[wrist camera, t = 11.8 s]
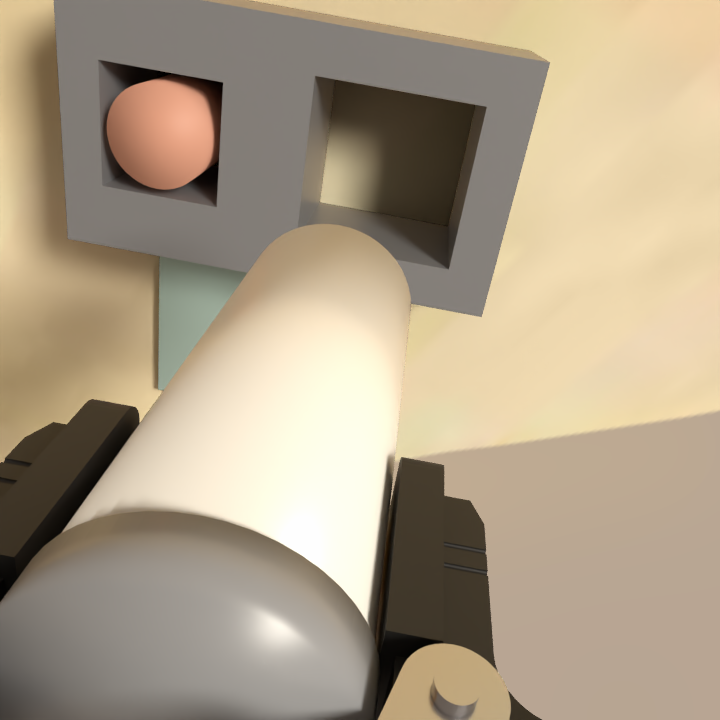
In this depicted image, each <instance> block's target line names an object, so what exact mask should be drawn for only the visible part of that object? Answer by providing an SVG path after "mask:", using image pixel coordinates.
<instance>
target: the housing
mask: <svg viewBox="0 0 720 720" xmlns="http://www.w3.org/2000/svg"><path fill="white" fill-rule="evenodd" d="M54 13H55V30H56V47H57V64H58V80H59V97H60V114H61V131H62V148H63V165H64V182H65V199H66V215H67V232H68V239H71V240H76V241H82V242H87V243H92V244H98V245H103V246H108V247H113V248H119V249H124V250H129V251H135V252H140V253H145V254H151V255H156V256H161V257H166V258H172V259H177V260H182V261H188V262H193V263H198V264H204V265H209V266H214V267H220V268H225V269H230V270H235V271H241V272H246V273H248V272H249V270H250V269H251V267H252V266H253V265H254V263H255V262H256V260H257V259H258V258H259V256H260V255H261V253H262V252H263V251H264V250H265V249H266V248H267V247H268V246H269V245H270V244H271V243H272V242H273V241H274V240H275V239H277V238H278V237H280V236H282V235H283V234H285V233H287V232H289V231H291V230H293V229H296V228H299V227H303V226H307V225H313V224H334V225H341V226H345V227H349V228H352V229H355V230H357V231H360V232H362V233H364V234H366V235H368V236H370V237H371V238H373V239H374V240H376V241H377V242H379V243H380V244H381V245H382V246H383V247H384V248H385V249H387V250H388V251H389V253H390V254H391V255H392V256H393V257H394V258H395V260H396V261H397V263H398V264H399V266H400V267H401V269H402V271H403V273H404V275H405V278H406V281H407V284H408V287H409V292H410V298H411V304H416V305H421V306H426V307H432V308H437V309H442V310H448V311H453V312H458V313H463V314H469V315H474V316H479V317H482V314H483V310H484V306H485V302H486V299H487V295H488V291H489V287H490V284H491V280H492V276H493V273H494V269H495V265H496V261H497V258H498V254H499V250H500V247H501V243H502V239H503V235H504V232H505V228H506V224H507V221H508V217H509V213H510V209H511V206H512V202H513V198H514V195H515V191H516V187H517V183H518V180H519V176H520V172H521V169H522V165H523V161H524V157H525V154H526V150H527V146H528V142H529V139H530V135H531V131H532V128H533V124H534V120H535V116H536V113H537V109H538V105H539V102H540V98H541V94H542V90H543V87H544V83H545V79H546V76H547V72H548V68H549V64H550V62H548V61H547V60H545V59H543V58H542V57H540V56H538V55H537V54H535V53H534V52H532V51H529V50H523V49H517V48H512V47H506V46H501V45H495V44H489V43H484V42H478V41H473V40H467V39H462V38H456V37H450V36H445V35H439V34H434V33H428V32H422V31H417V30H411V29H406V28H400V27H394V26H389V25H383V24H378V23H372V22H366V21H361V20H355V19H350V18H344V17H339V16H333V15H327V14H322V13H316V12H311V11H305V10H299V9H294V8H288V7H283V6H277V5H271V4H266V3H260V2H255V1H249V0H54ZM158 71H163V72H169V73H174V74H180V75H185V76H191V77H196V78H202V79H207V80H213V81H218V82H223V95H222V114H221V133H220V152H219V167H214V166H211V167H210V168H208V169H207V170H206V171H204V172H203V173H201V174H200V175H199V176H197V177H196V178H194V179H193V180H192V181H190V182H189V183H187V184H186V185H183V186H181V187H178V188H175V189H166V190H163V189H155V188H151V187H148V186H146V185H143V184H142V183H140V182H138V181H136V180H135V179H133V178H132V177H131V176H130V175H129V174H127V173H126V172H125V171H124V169H123V168H122V167H121V166H120V165H119V163H118V162H117V160H116V158H115V157H114V155H113V153H112V150H111V148H110V145H109V141H108V137H107V118H108V114H109V110H110V108H111V106H112V104H113V102H114V100H115V99H116V98H117V96H118V95H119V94H120V93H121V92H123V91H124V90H125V89H127V88H129V87H131V86H133V85H136V84H139V83H142V82H146V81H150V80H153V79H157V78H158ZM335 80H341V81H347V82H352V83H358V84H363V85H369V86H374V87H380V88H385V89H391V90H397V91H402V92H408V93H413V94H419V95H424V96H430V97H435V98H441V99H446V100H452V101H457V102H463V103H468V104H474V105H476V106H475V110H474V115H473V119H472V123H471V128H470V132H469V137H468V141H467V146H466V150H465V154H464V159H463V163H462V168H461V172H460V177H459V181H458V185H457V190H456V194H455V199H454V203H453V208H452V212H451V216H450V221H449V225H448V226H444V225H439V224H433V223H428V222H422V221H417V220H412V219H406V218H401V217H395V216H390V215H385V214H379V213H374V212H368V211H363V210H358V209H352V208H347V207H342V206H336V205H331V204H325V203H320V197H321V189H322V182H323V174H324V166H325V158H326V150H327V142H328V134H329V127H330V119H331V111H332V103H333V95H334V87H335Z"/></svg>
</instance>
